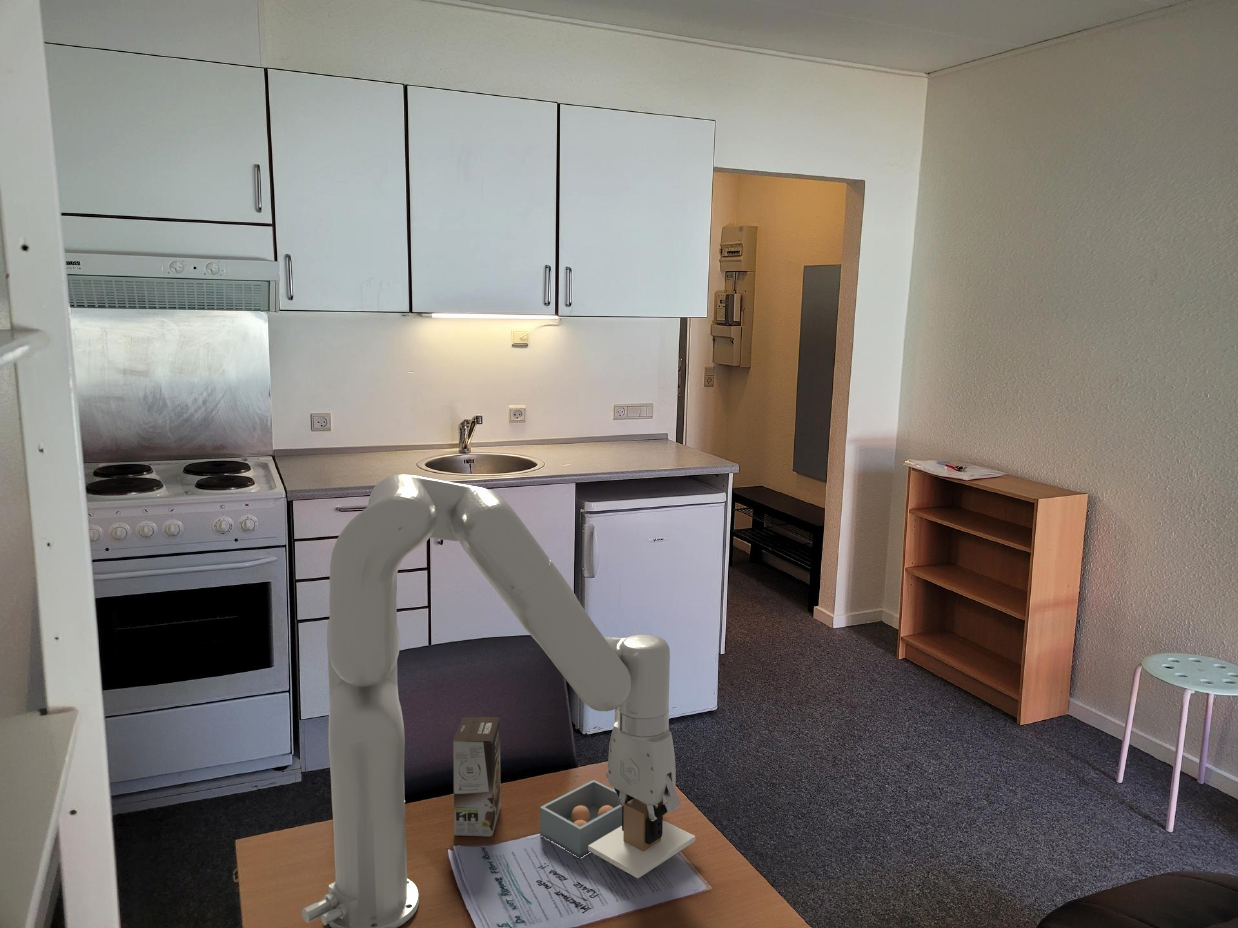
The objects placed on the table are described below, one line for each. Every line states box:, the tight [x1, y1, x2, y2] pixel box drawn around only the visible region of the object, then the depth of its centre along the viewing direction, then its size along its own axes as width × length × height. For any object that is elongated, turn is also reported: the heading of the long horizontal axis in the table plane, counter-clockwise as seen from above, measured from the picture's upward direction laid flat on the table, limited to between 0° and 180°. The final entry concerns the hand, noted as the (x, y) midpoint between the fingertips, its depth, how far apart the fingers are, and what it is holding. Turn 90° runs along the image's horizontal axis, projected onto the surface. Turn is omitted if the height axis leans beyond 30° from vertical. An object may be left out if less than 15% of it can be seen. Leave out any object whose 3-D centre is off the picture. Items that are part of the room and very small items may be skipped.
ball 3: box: [598, 805, 613, 817], centre depth 148 cm, size 3×3×3 cm
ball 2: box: [574, 820, 587, 827], centre depth 143 cm, size 3×3×3 cm
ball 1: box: [571, 805, 590, 822], centre depth 148 cm, size 3×3×3 cm
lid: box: [588, 798, 696, 879], centre depth 138 cm, size 13×10×7 cm
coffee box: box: [452, 716, 502, 837], centre depth 149 cm, size 9×6×16 cm
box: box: [539, 779, 622, 858], centre depth 147 cm, size 12×9×5 cm
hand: (642, 832), depth 138 cm, fingers closed on lid, 4 cm apart
